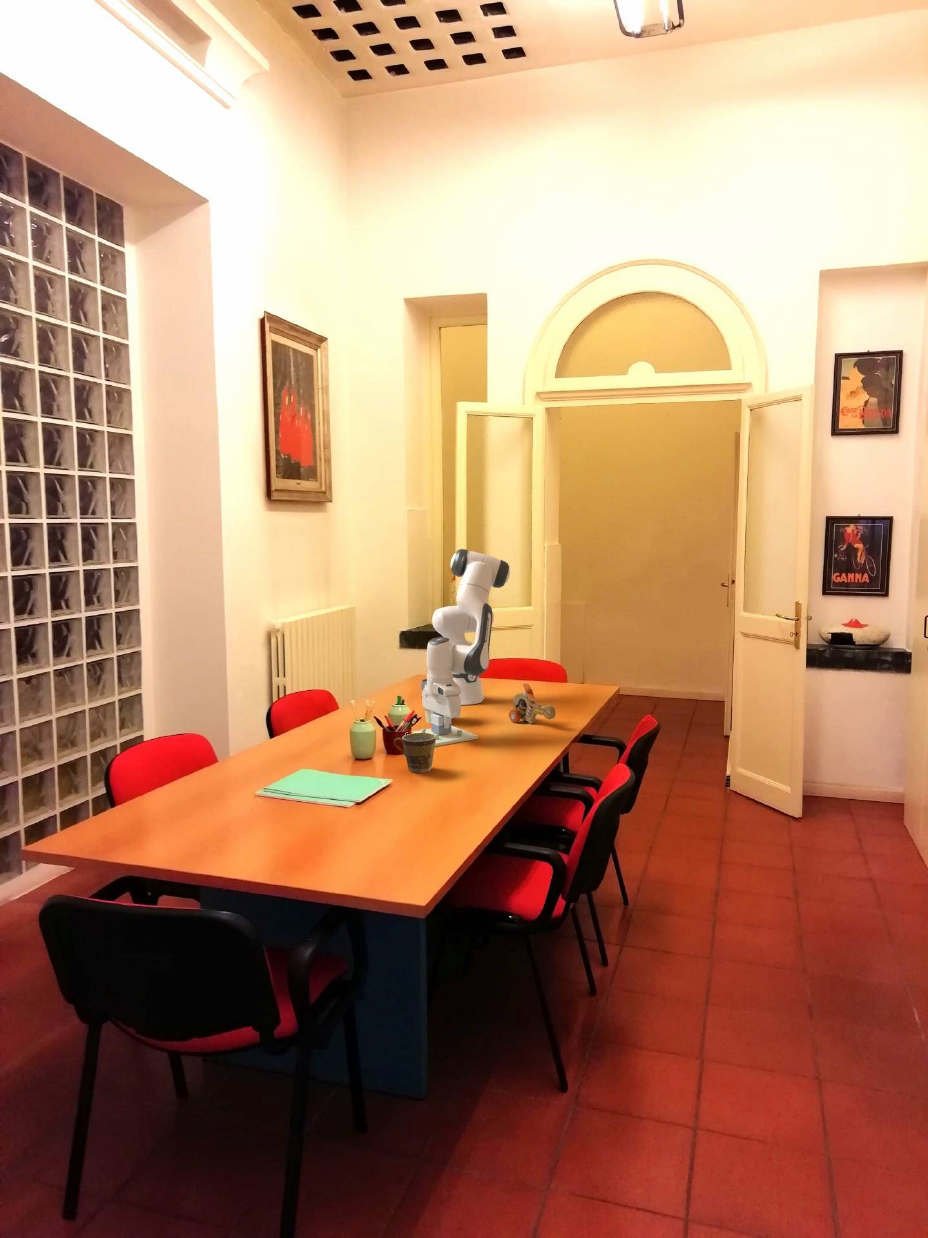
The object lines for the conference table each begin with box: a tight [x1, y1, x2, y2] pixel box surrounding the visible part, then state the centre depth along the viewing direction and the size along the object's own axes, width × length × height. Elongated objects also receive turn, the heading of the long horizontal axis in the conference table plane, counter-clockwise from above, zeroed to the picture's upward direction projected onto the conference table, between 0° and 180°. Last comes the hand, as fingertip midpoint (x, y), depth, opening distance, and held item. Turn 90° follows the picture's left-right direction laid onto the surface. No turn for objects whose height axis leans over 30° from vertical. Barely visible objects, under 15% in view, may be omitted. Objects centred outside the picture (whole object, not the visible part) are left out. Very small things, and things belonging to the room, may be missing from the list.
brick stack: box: [430, 713, 452, 735], centre depth 297 cm, size 5×5×6 cm
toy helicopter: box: [508, 683, 557, 725], centre depth 311 cm, size 8×21×14 cm, turn 38°
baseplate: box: [412, 725, 479, 747], centre depth 297 cm, size 18×18×2 cm
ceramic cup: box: [393, 733, 436, 774], centre depth 260 cm, size 13×10×10 cm
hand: (441, 726), depth 297 cm, fingers closed on brick stack, 5 cm apart
